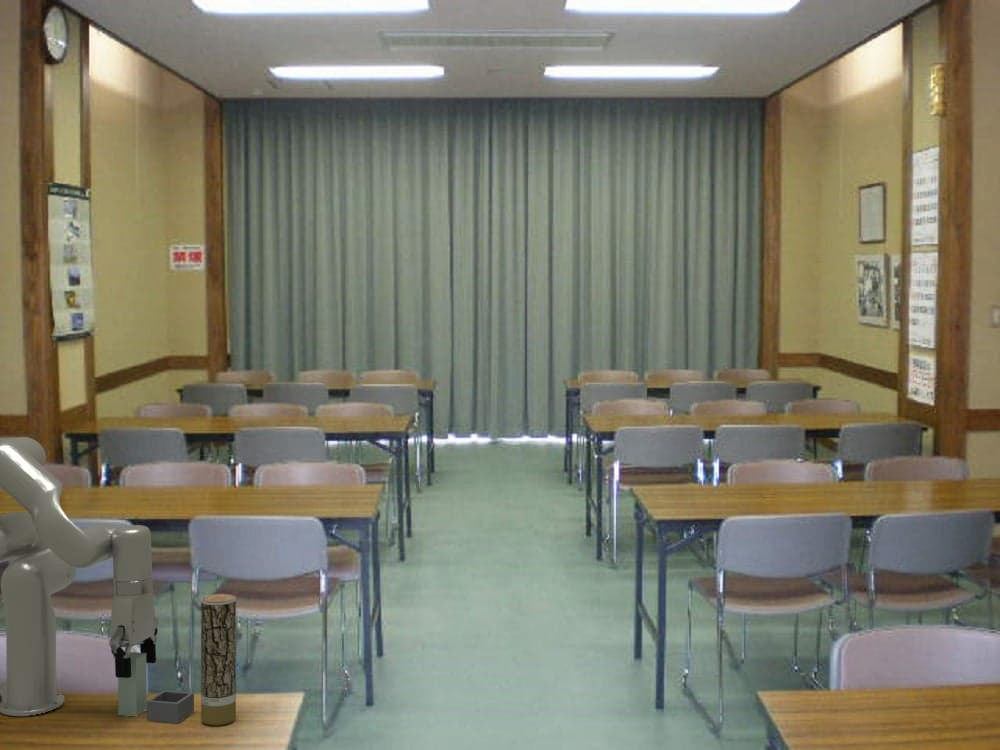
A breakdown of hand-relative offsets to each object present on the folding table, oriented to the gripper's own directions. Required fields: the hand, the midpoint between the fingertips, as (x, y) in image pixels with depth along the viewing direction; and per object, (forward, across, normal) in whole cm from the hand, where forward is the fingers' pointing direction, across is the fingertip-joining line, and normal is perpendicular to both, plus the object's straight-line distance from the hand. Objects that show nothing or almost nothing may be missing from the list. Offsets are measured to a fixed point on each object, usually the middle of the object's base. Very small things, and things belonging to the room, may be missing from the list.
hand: (136, 669), depth 226 cm
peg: (+9, 0, -1) cm, 9 cm away
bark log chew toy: (+10, 0, +18) cm, 20 cm away
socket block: (+9, 0, +7) cm, 12 cm away
